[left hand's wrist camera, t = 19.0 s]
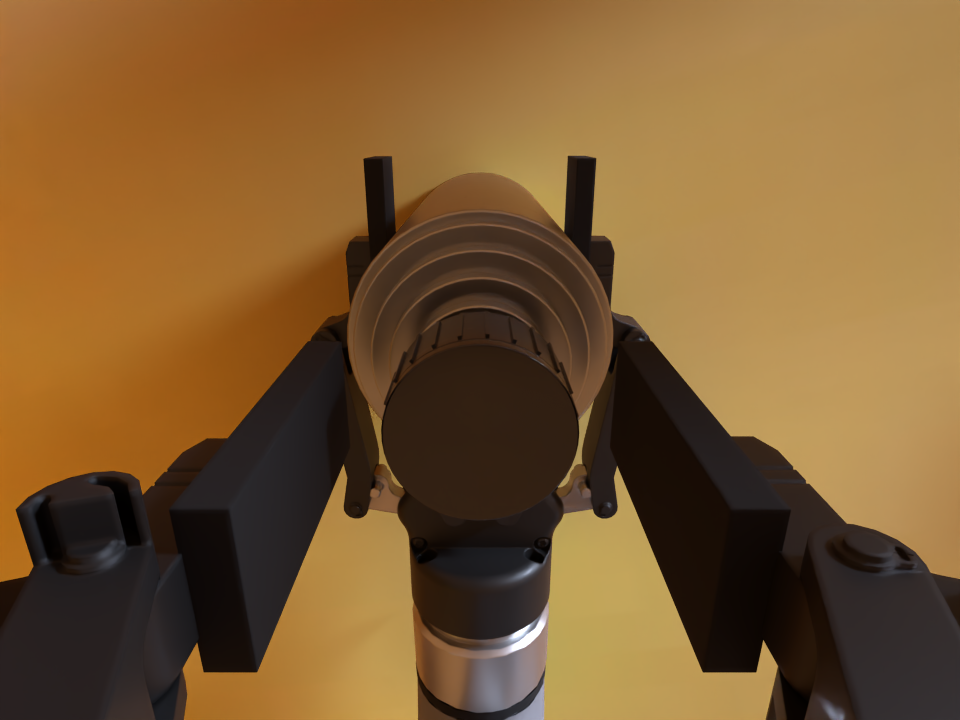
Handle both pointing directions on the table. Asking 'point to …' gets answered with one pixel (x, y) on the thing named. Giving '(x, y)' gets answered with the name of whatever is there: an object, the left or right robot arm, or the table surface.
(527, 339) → the cap
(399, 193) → the table surface
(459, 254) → the bottle
